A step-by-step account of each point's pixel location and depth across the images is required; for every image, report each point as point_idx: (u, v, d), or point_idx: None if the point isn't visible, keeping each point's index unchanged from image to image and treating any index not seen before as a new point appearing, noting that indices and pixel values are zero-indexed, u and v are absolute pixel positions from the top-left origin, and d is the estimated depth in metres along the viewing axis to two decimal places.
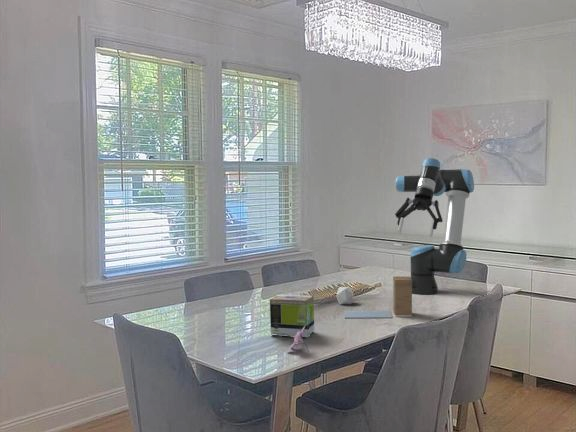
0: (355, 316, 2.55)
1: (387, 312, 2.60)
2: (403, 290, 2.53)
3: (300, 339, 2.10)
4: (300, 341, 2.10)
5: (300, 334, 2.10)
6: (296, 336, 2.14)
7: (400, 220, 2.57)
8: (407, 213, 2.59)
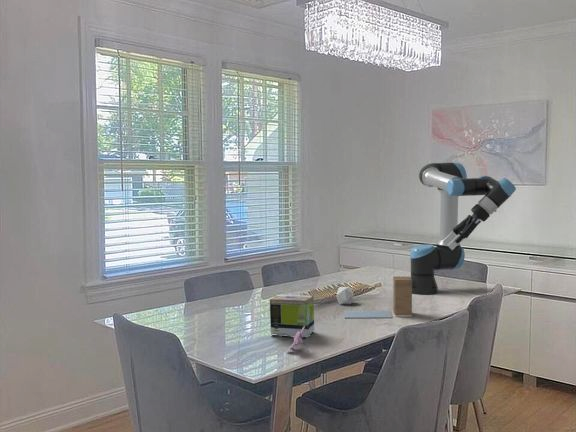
0: (355, 316, 2.55)
1: (387, 312, 2.60)
2: (403, 290, 2.53)
3: (300, 339, 2.10)
4: (300, 341, 2.10)
5: (300, 334, 2.10)
6: (296, 336, 2.14)
7: (460, 241, 2.47)
8: None
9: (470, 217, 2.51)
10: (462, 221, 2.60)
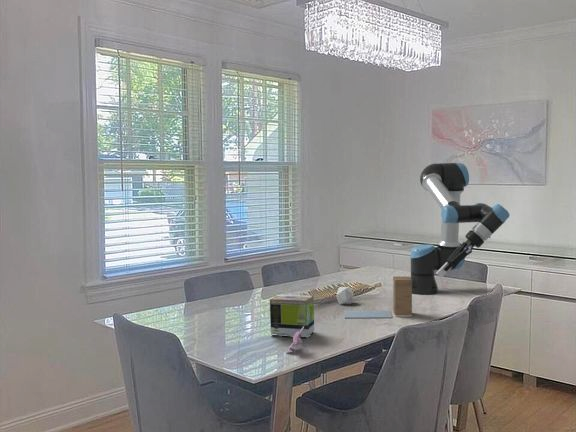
0: (355, 316, 2.55)
1: (387, 312, 2.60)
2: (403, 290, 2.53)
3: (299, 339, 2.09)
4: (299, 341, 2.10)
5: (299, 334, 2.10)
6: (295, 336, 2.14)
7: (449, 269, 2.53)
8: None
9: (464, 244, 2.51)
10: (455, 250, 2.57)
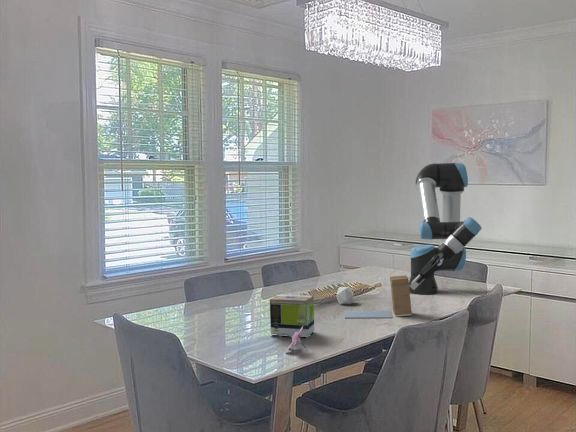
0: (355, 316, 2.55)
1: (387, 312, 2.60)
2: (400, 289, 2.53)
3: (298, 339, 2.09)
4: (298, 341, 2.10)
5: (298, 334, 2.09)
6: (294, 336, 2.14)
7: (421, 281, 2.55)
8: None
9: (436, 256, 2.52)
10: (428, 262, 2.59)
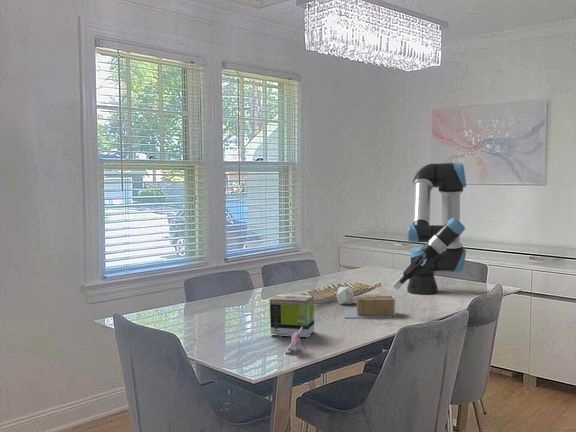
0: (355, 316, 2.55)
1: None
2: (368, 308, 2.55)
3: (298, 339, 2.09)
4: (298, 341, 2.10)
5: (298, 334, 2.09)
6: (293, 336, 2.14)
7: (405, 281, 2.55)
8: None
9: (420, 257, 2.53)
10: (412, 262, 2.59)
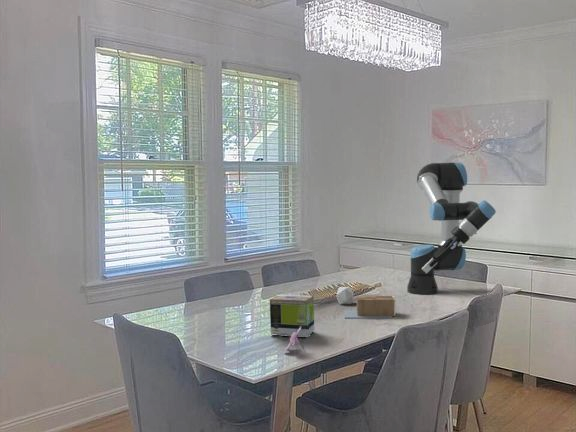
0: (355, 316, 2.55)
1: None
2: (368, 308, 2.55)
3: (296, 340, 2.09)
4: (296, 342, 2.09)
5: (296, 335, 2.09)
6: (292, 337, 2.14)
7: (434, 265, 2.54)
8: None
9: (449, 240, 2.51)
10: (441, 246, 2.58)
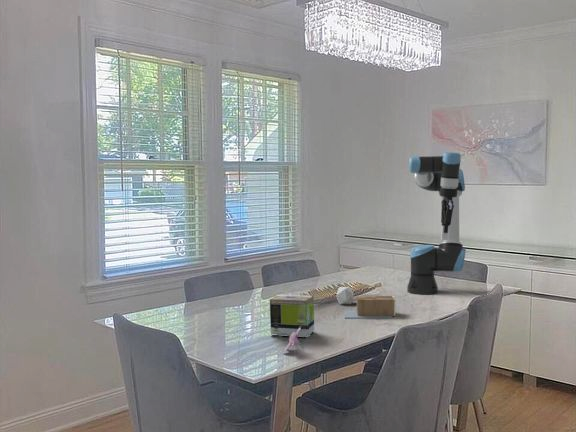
0: (355, 316, 2.55)
1: None
2: (368, 308, 2.55)
3: (296, 340, 2.09)
4: (296, 342, 2.09)
5: (296, 335, 2.09)
6: (291, 337, 2.13)
7: (448, 229, 2.67)
8: None
9: (444, 202, 2.64)
10: None
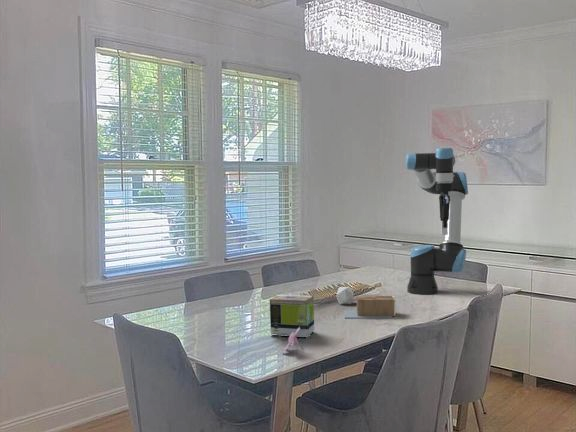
0: (355, 316, 2.55)
1: None
2: (368, 308, 2.55)
3: (295, 340, 2.09)
4: (295, 342, 2.09)
5: (295, 335, 2.09)
6: (290, 337, 2.13)
7: (447, 224, 2.69)
8: None
9: (440, 197, 2.67)
10: None
